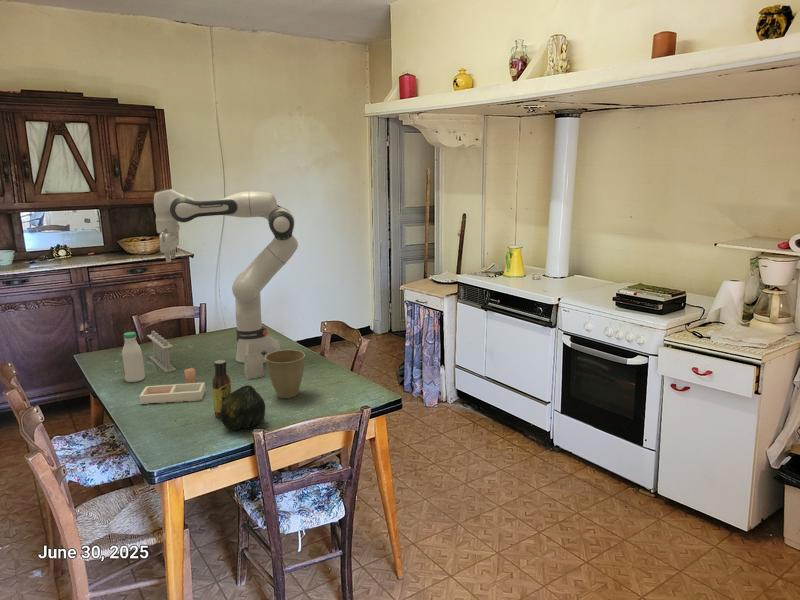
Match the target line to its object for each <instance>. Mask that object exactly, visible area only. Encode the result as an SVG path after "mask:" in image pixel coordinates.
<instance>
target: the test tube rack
mask: <svg viewBox="0 0 800 600" xmlns="http://www.w3.org/2000/svg"><path fill="white" fill-rule="evenodd" d="M146 337H148V338H149V339H150V340H151V342H152V343H151V344H152V351H153V355H150V356H148V358H149V357H150V358H151V359H152V360H153V361H154V362H155V363H154V362H153V361H152V360H151V359H150V358H149V359H150V360H151V361H152V362H153V363H154V364H156V365H157V366H158V367H159V368H160V369H161V370H162V371H163V372H164V373H170V372H175V371H177V368H175V367H174V366H173V365H172V364H171V357H170V351H169V349H172V348H174V345H173V344H171V343H170V342H169V341H168V339H165V337H162V335H159V333H157V332H156V331H155V330H151V334H147V335H146Z"/></svg>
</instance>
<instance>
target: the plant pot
mask: <svg viewBox="0 0 800 600" xmlns="http://www.w3.org/2000/svg"><path fill="white" fill-rule="evenodd" d="M305 358H306V353H304V352H303V351H301V350H297V349H281V350H279V351H275V352H272V353H269V354H267V355H266V356H265V361H266V363H265V364H266V369H267V372H268V375H269V378H270V382H271V384H272V386H273V388H274V391H275V393H276V395H277V397H278V398H280V399H283V398H288V399H291V398H290V397H293V398H294V396H295V397H296V395H297V396H298V395H299V394H298V393H299V391H300V387H301V383H302V378H303V373H304V369H305V360H306V359H305Z"/></svg>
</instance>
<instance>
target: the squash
mask: <svg viewBox="0 0 800 600" xmlns="http://www.w3.org/2000/svg"><path fill="white" fill-rule="evenodd" d="M265 415H266V403H265V401H264V398H263V397H262V396H261V395H260V394H259V393H258V391H256V389H255V388H254V387H253V386H252V385H249V384H247V385H244V386H241V387H240V388H237V389H236V390H234V391H231V394H229V395H228V396H226V397H225V399H224V401H223V404H222V408H221V417H220V419H221V422H222V424H223V426H224V427H226V428H227V429H232V430H234V431H237V430H241V428H243V429H248V428H251V427H255V426H258V425H261V424H262V422H263V421H264V420H265Z"/></svg>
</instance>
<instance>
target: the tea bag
mask: <svg viewBox="0 0 800 600" xmlns="http://www.w3.org/2000/svg"><path fill="white" fill-rule="evenodd" d="M243 366H244V378H246V380H248V379H250V380H253V379H252V378H255V379H258V378H257V377H260V378H263V376H265V374H264V363H263V361H262V357H261V353H255V354H250V355H245V360H244V363H243Z"/></svg>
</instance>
